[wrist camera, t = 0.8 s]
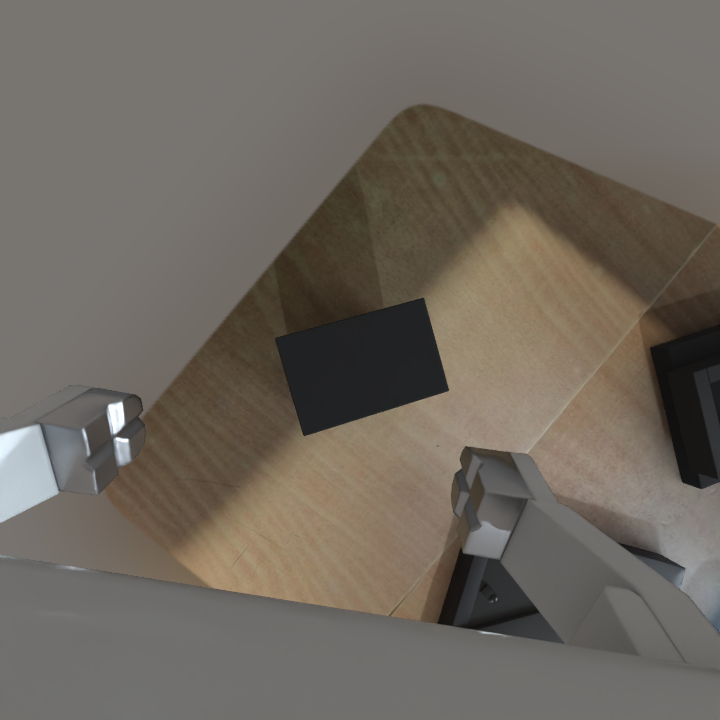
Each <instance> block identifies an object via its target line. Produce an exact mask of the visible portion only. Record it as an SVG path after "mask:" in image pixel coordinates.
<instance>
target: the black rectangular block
mask: <svg viewBox="0 0 720 720" xmlns="http://www.w3.org/2000/svg"><path fill="white" fill-rule="evenodd" d="M275 341H276V344H277V347H278V351H279V354H280V358H281V361H282V364H283V368H284V371H285V375H286V378H287V381H288V385H289V388H290V392H291V395H292V398H293V402H294V405H295V408H296V412H297V415H298V419H299V422H300V425H301V429H302V432H303V435H304V436H307V435H310V434H313V433H316V432H319V431H323V430H326V429H329V428H332V427H335V426H338V425H342V424H345V423H348V422H351V421H354V420H358V419H361V418H364V417H367V416H370V415H374V414H377V413H380V412H383V411H386V410H390V409H393V408H396V407H399V406H402V405H406V404H409V403H412V402H415V401H418V400H422V399H425V398H428V397H431V396H434V395H438V394H441V393H444V392H447V391H449V388H448V385H447V381H446V377H445V374H444V370H443V366H442V362H441V359H440V355H439V351H438V348H437V344H436V340H435V337H434V333H433V329H432V326H431V322H430V318H429V315H428V311H427V307H426V304H425V300H424V298H421V299H417V300H413V301H410V302H406V303H402V304H399V305H395V306H391V307H388V308H384V309H380V310H377V311H373V312H369V313H366V314H362V315H358V316H355V317H351V318H347V319H344V320H340V321H336V322H333V323H329V324H325V325H322V326H318V327H314V328H311V329H307V330H303V331H300V332H296V333H292V334H289V335H285V336H281V337H278V338H275Z"/></svg>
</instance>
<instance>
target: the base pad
mask: <svg viewBox="0 0 720 720" xmlns="http://www.w3.org/2000/svg"><path fill="white" fill-rule="evenodd" d="M650 349H651V353H652V357H653V361H654V365H655V369H656V374H657V378H658V382H659V386H660V390H661V394H662V398H663V403H664V407H665V411H666V415H667V419H668V423H669V428H670V432H671V436H672V440H673V444H674V448H675V452H676V457H677V461H678V465H679V469H680V473H681V477H682V482H683V483H685V484H688V485H691V486H694V487H697V488H700V489H703V488H706V487H708V486H711V485H713V484H716V483H718V482H720V325H719V326H716V327H713V328H710V329H707V330H704V331H701V332H698V333H694V334H691V335H688V336H685V337H682V338H679V339H676V340H673V341H670V342H667V343H663V344H660V345H657V346H654V347H651V348H650Z"/></svg>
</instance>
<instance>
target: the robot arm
mask: <svg viewBox="0 0 720 720" xmlns="http://www.w3.org/2000/svg"><path fill="white" fill-rule="evenodd" d="M142 411H143V406H142V401H141V398H139V397H138V396H137V395H135V394H129V393H123V392H118V391H112V390H106V389H101V388H94V387H89V386H82V385H70V386H68V387H66V388H64V389H62V390H60V391H58V392H57V393H55V394H53V395H51V396H49V397H47V398H46V399H44V400H42V401H40V402H38V403H36V404H35V405H33V406H31V407H29V408H27V409H25V410H24V411H22V412H20V413H18V414H17V415H15V416H13V417H11V418H9V419H8V418H0V523H1V522H3V521H5V520H7V519H9V518H11V517H13V516H15V515H17V514H19V513H21V512H23V511H24V510H27V509H29V508H31V507H33V506H35V505H37V504H39V503H41V502H43V501H44V500H46V499H48V498H50V497H52V496H54V495H56V494H58V493H59V491H62V492H71V493H78V494H86V495H94V496H98V495H99V494H100V493H101V492H102V491H103V490H104V489H105V488H106V487H107V486H108V485H109V484H110V483H111V482H112V481H113V480H114V479H115V478H116V477H117V476H118V475H119V467H121V466H124V465H126V464H129V463H131V462H132V461H133V460H134V459H135V458H136V457H137V456H138V455H139V454H140V452H141V450H142V448H143V446H144V444H145V439H146V427H145V424H144V423H143V422H142V421H141V420H140V418H139V417H138V416H139V415H140V414H141V413H142ZM460 462H461V466H462V469H460V470H459V471H458V472H456V473H455V476H454V479H453V483H452V491H451V501H452V508H453V512H454V513H455V515H456V516H457V517H458V518H459V519H460V521H459V524H458V527H457V530H458V534H459V539H460V543H461V547H462V551H463V553H464V554H469V555H475V556H480V557H486V558H491V559H496V560H501V561H500V562H501V564H502V565H503V566H504V567H505V569H506V570H507V571H508V573H509V574H510V575H511V576H512V578H513V579H514V580H515V581H516V583H517V584H518V585H519V586H520V588H521V589H522V590H523V591H524V593H525V594H526V595H527V596H528V598H529V599H530V600H531V602H532V603H533V604H534V605H535V607H536V608H537V609H538V610H539V612H540V613H541V614H542V615H543V617H544V618H545V619H546V620H547V622H548V623H549V624H550V626H551V627H552V628H553V629H554V631H555V632H556V633H557V634H558V636H559V637H560V638H561V639H562V641H563V642H564V643H565V644H561V643H555V642H548V641H542V640H536V639H530V638H523V637H517V636H511V635H504V634H498V633H492V632H485V631H479V630H473V629H467V628H460V627H454V626H448V625H441V624H435V623H429V622H422V621H416V620H410V619H403V618H397V617H391V616H384V615H378V614H372V613H365V612H359V611H352V610H346V609H340V608H333V607H327V606H321V605H314V604H308V603H302V602H295V601H289V600H283V599H276V598H270V597H264V596H257V595H251V594H245V593H238V592H232V591H226V590H220V589H213V588H207V587H201V586H194V585H188V584H182V583H175V582H169V581H163V580H156V579H150V578H144V577H137V576H131V575H125V574H118V573H112V572H106V571H99V570H93V569H87V568H81V567H74V566H67V565H62V564H55V563H49V562H42V561H36V560H30V559H24V558H17V557H11V556H5V555H0V720H720V635H719V633H718V632H717V631H716V630H715V628H714V627H713V626H712V625H711V623H710V622H709V621H708V619H707V618H706V617H705V616H704V614H703V613H702V612H701V611H700V609H699V608H698V607H697V605H696V604H695V603H694V602H693V600H692V599H691V598H690V597H689V596H688V595H686V594H685V593H684V592H682V591H681V590H680V589H678V588H677V587H676V586H674V585H673V584H672V583H670V582H669V581H668V580H666V579H665V578H664V577H662V576H661V575H660V574H658V573H657V572H656V571H654V570H653V569H651V568H650V567H649V566H647V565H646V564H645V563H643V562H642V561H641V560H639V559H638V558H637V557H635V556H634V555H633V554H631V553H630V552H629V551H627V550H626V549H625V548H623V547H622V546H621V545H619V544H618V543H616V542H615V541H614V540H612V539H611V538H610V537H608V536H607V535H606V534H604V533H603V532H602V531H600V530H599V529H598V528H596V527H595V526H594V525H592V524H591V523H590V522H588V521H587V520H585V519H584V518H583V517H581V516H580V515H579V514H577V513H576V512H575V511H573V510H572V509H571V508H569V507H568V506H567V505H562V504H559V503H558V501H557V499H556V498H555V496H554V494H553V493H552V491H551V489H550V488H549V486H548V484H547V483H546V481H545V479H544V478H543V476H542V474H541V473H540V471H539V469H538V468H537V466H536V464H535V463H534V461H533V459H532V458H531V457H530V456H529V455H528V454H523V453H515V452H507V451H506V452H504V451H496V450H489V449H482V448H475V447H468V446H465V448H464V449H463V451H462V454H461V457H460Z"/></svg>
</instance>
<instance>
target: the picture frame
mask: <svg viewBox="0 0 720 720" xmlns="http://www.w3.org/2000/svg"><path fill="white" fill-rule="evenodd" d="M616 543H617V542H616ZM618 544H619V545H621V546H622V547H623V548H625V549H626V550H627V551H629V552H630V553H631V554H633V555H634V556H635V557H637V558H638V559H639V560H641V561H642V562H643V563H645V564H646V565H647V566H649V567H650V568H651V569H653V570H654V571H656V572H657V573H658V574H660V575H661V576H662V577H664V578H665V579H666V580H668V581H669V582H670V583H672V584H673V585H674V586H676V587H677V588H678V589H680V587H681V584H682V580H683V577H684V573H685V568H684V567H682V566H680V565H678V564H677V563H675V562H673V561H671V560H670V559H668V558H666V557H664V556H662V555H660V554H656V553H653V552H649V551H646V550H642V549H639V548H635V547H632V546H628V545H624V544H621V543H618ZM500 561H501V560H496V559H491V558H486V557H480V556H475V555H469V554H464V553H463V551H462V547H461V550H460V553H459V556H458V559H457V563H456V566H455V569H454V572H453V576H452V579H451V582H450V585H449V589H448V592H447V595H446V598H445V602H444V605H443V608H442V612H441V615H440V618H439V621H438V624H441V625H448V626H454V627H460V628H467V629H473V630H479V631H485V632H492V633H498V634H504V635H511V636H517V637H523V638H530V639H536V640H542V641H548V642H555V643H561V644H565V643H564V642H563V641H562V639H561V638H560V637H559V636H558V634H557V633H556V632H555V631H554V629H553V628H552V627H551V626H550V624H549V623H548V622H547V620H546V619H545V618H544V617H543V615H542V614H541V613H540V612H539V610H538V609H537V608H536V607H535V605H534V604H533V603H532V602H531V600H530V599H529V598H528V596H527V595H526V594H525V593H524V591H523V590H522V589H521V588H520V586H519V585H518V584H517V583H516V581H515V580H514V579H513V578H512V576H511V575H510V574H509V573H508V571H507V570H506V569H505V567H504V566H503V565H502V564H501V562H500Z"/></svg>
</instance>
